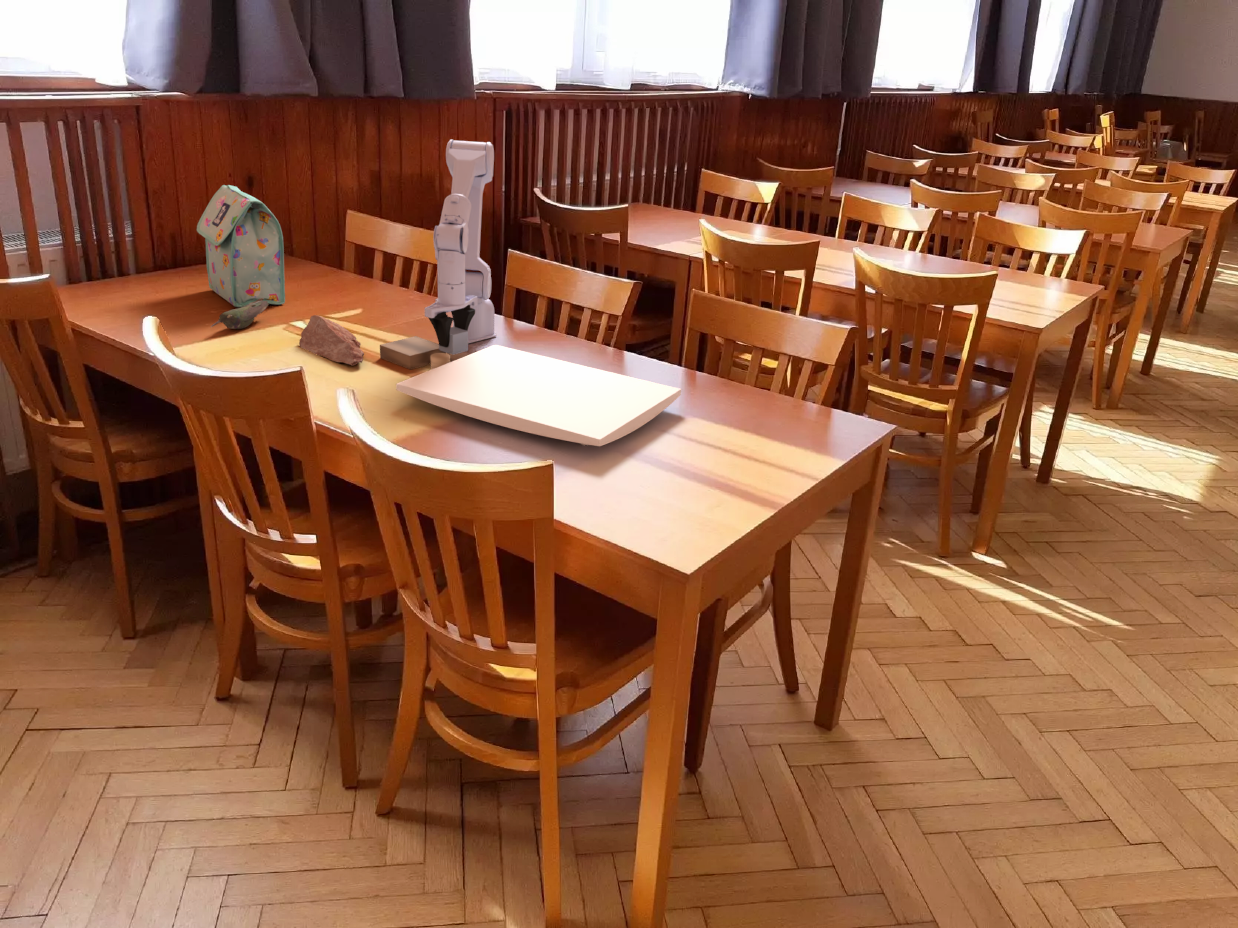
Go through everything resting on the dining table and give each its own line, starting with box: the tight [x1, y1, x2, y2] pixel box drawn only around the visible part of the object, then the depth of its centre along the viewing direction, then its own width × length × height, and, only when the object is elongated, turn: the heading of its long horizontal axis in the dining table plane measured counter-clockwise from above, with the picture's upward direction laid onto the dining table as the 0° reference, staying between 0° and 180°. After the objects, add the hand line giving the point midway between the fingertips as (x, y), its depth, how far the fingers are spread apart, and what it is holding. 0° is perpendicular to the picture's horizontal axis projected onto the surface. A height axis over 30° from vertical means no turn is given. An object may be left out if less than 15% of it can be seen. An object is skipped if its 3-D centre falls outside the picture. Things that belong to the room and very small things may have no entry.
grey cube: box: [439, 326, 469, 356], centre depth 212 cm, size 4×4×4 cm
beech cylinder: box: [430, 353, 451, 370], centre depth 203 cm, size 4×4×5 cm
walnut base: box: [379, 335, 447, 370], centre depth 213 cm, size 10×10×3 cm
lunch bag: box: [196, 184, 286, 308], centre depth 245 cm, size 23×16×27 cm
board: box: [395, 344, 682, 447], centre depth 191 cm, size 45×32×5 cm
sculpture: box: [210, 298, 270, 330], centre depth 226 cm, size 5×19×5 cm, turn 158°
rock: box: [298, 314, 365, 366], centre depth 215 cm, size 10×24×10 cm
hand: (452, 343), depth 212 cm, fingers closed on grey cube, 5 cm apart
